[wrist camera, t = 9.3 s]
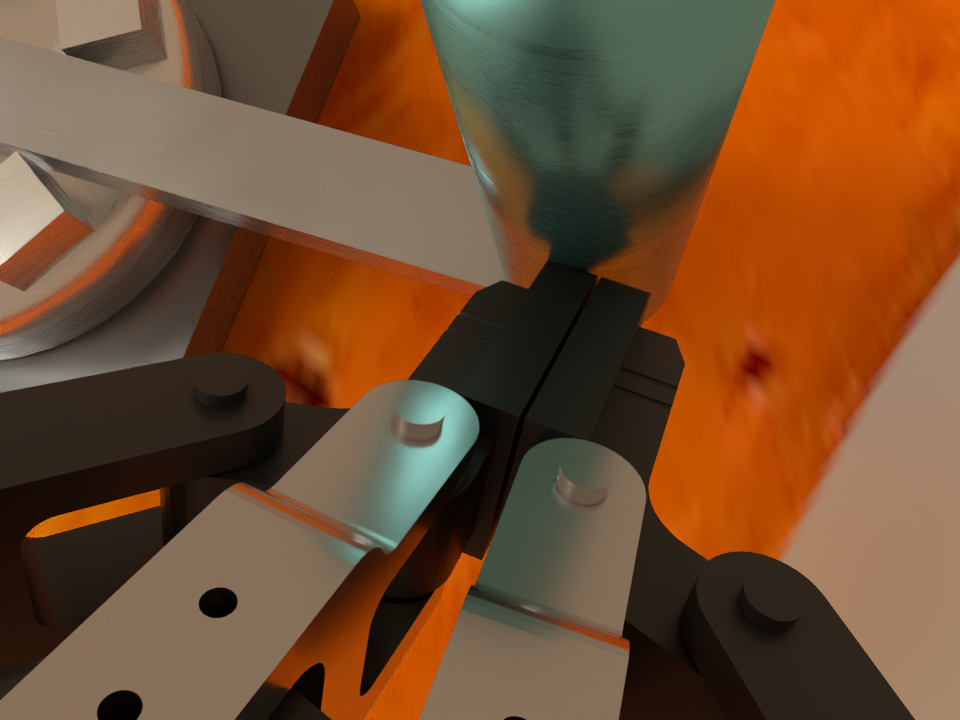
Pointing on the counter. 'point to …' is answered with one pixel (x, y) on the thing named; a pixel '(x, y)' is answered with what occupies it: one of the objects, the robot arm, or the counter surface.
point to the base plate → (210, 243)
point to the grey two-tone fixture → (359, 151)
